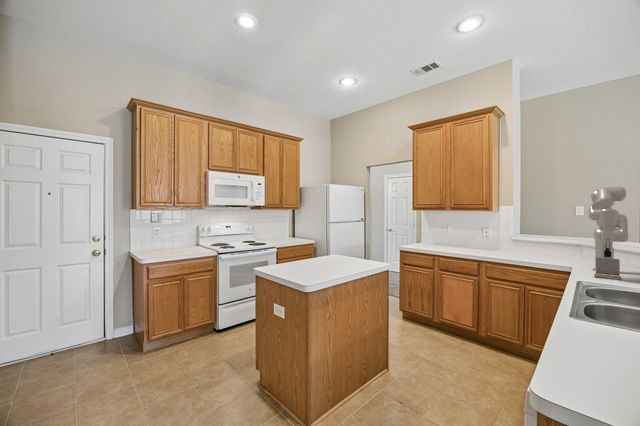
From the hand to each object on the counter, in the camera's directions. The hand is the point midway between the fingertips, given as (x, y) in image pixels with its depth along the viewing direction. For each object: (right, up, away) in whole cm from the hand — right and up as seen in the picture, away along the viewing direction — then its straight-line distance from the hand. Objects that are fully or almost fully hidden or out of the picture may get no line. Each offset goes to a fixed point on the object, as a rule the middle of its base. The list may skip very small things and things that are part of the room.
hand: (607, 257), depth 180 cm
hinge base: (+1, -14, +1) cm, 14 cm away
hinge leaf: (+6, -8, +6) cm, 11 cm away
